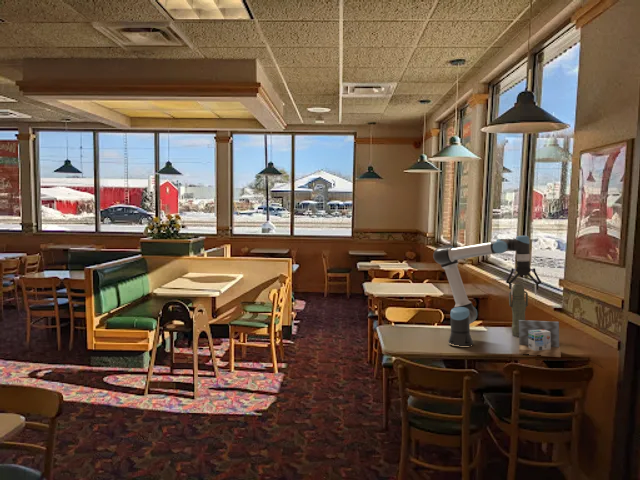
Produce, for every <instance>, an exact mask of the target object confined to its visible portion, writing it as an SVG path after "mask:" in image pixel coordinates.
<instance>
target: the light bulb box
mask: <svg viewBox="0 0 640 480" xmlns="http://www.w3.org/2000/svg"><path fill="white" fill-rule="evenodd" d="M528 343H529V348H530V349H532V350H534V351H539V350H550V349H551V332H550V331H547V330H545V329H540V330H529V331H528Z"/></svg>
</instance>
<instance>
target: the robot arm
mask: <svg viewBox="0 0 640 480" xmlns="http://www.w3.org/2000/svg"><path fill="white" fill-rule="evenodd" d="M530 244H531V242H530V237H529V236H528V235H516V238H498V239H496V240H495V241H489V242H484V243H483V242H482V243H477V244H471V245H466V246H465V245H464V246H458V247H454V246H453V245H442V246H439V247H437V248H436V249H434V252H433V254H432V257H433V260H434V261H435V263H437V264H438V265H440V267H441V269H443V270H444V273H445V275H446V277H447V281H448V284H449V286H450V289H451V290H450V291H451V293H452V297H453V300H454V302H455V305H454V307H453V308H451V310H450V314H449V316H450V334H449V339H448V342H449V343H451V344H454V345H459V346H471V345H473V344H474V340H473V338H472V336H471V332H470V331H471V330H470V327H471V326H470V325H471V324H473V323H474V322H475V321H476V319H477V318H478V310H477V309H476V307H474V305H473V302H472V301H471V300H469V298H468V295H467V291H466V289H465V286H464V283H463V280H462V276H461V273H460V270H459V267H458V264H459V260H464V259H469V258H475V257H484V256H489V255H490V256H491V255H495V254H504V253H505V252H516V268H513V267H512V268H511V270H510V273H509V275H508V277H507V279H506V281H505V283H506V284H508V289H509V290H510V291H511V296H512V295H513V290H512V288H513V282H514V281H515V280H516V279H517V277H519V276H520V277H522V276H528V277H529V278H530V280H531V281H533V282H534V283H535V284H534V296H537V290H539V285H540V284H541V285H542V281H541V279H540V277H539V275H538V273H537V271H536V268H535V267H533V268H531V263H530V262H531V261H530V260H531V259H530V255H531V254H530V253H531V252H530ZM515 272H517V273H516V274H515V275H514V276H513V277H512V275H513V274H514V273H515ZM530 272H531V273H533V274H534V276H535V277H536V279H537V280H536V279H535V277H533V275H531V273H530ZM511 277H512V278H511ZM473 346H474V345H473ZM471 347H472V346H471Z"/></svg>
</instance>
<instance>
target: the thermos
mask: <svg viewBox="0 0 640 480" xmlns="http://www.w3.org/2000/svg"><path fill="white" fill-rule="evenodd" d="M512 290H513V295H511V290H510V291H509V293H508V304H509V307H511V311H512V312H511V313H512V324H511V333H512V334H511V335H512V337H514V338H519V320H526V309H527V308H526V307H528V306H529V293H528V292H527V291H526V290H525V287H524V285H523V284H522V283H515V284H512Z"/></svg>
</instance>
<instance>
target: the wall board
mask: <svg viewBox="0 0 640 480" xmlns="http://www.w3.org/2000/svg"><path fill="white" fill-rule="evenodd" d="M540 329H545V330H547V331H550V332H551V349H550V350H539V351H534V350H532V349H530V348H529V343H528V331H529V330H540ZM518 341H519V342H518V345H519V347H518V348H519V350H518V351H519V352H518V353H519V355H523V354H529V355H528V356H537V355H541V356H540V357H553V358H554V357H555V358H561V357H562V356H561V354H562V353H561V352H562V351H561V348H560V321H548V320H547V321H546V320H529V319H528V320H526V319H525V320H519V337H518Z"/></svg>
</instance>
